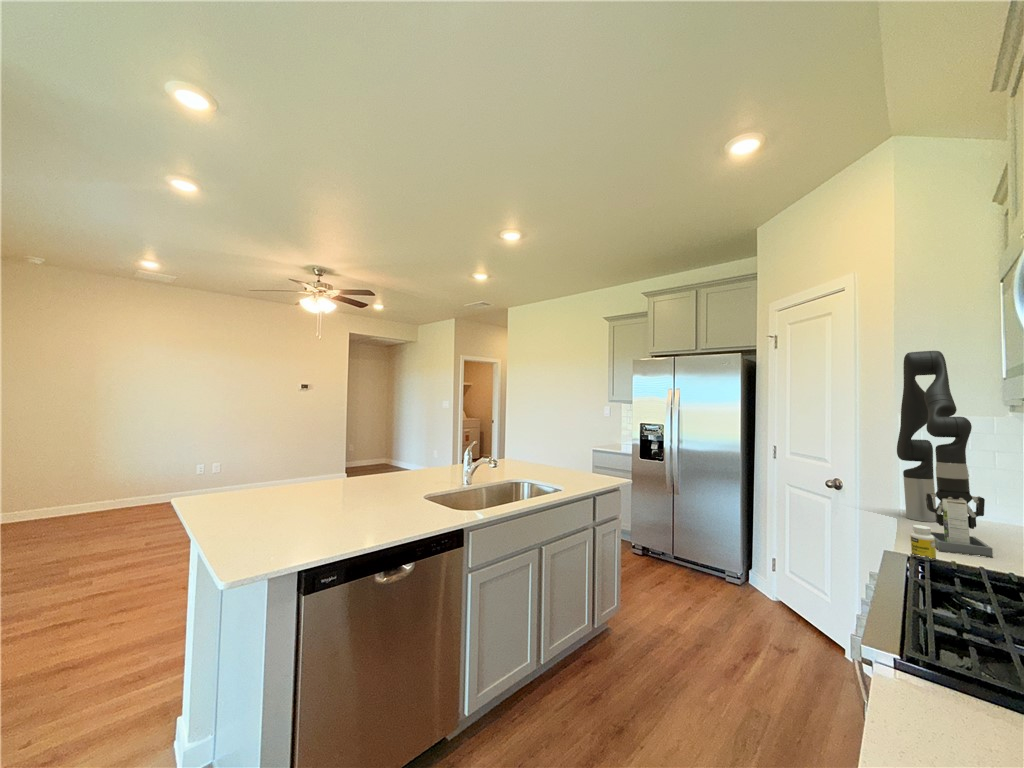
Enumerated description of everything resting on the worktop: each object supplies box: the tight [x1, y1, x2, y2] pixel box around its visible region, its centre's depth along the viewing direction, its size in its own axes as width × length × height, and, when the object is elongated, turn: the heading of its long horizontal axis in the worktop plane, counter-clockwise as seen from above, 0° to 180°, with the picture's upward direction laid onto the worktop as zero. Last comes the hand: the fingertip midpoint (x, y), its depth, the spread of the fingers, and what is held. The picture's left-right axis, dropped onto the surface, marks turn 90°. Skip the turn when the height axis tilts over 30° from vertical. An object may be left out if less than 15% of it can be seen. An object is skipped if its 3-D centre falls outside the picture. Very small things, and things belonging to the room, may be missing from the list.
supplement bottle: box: [910, 524, 937, 560], centre depth 130 cm, size 5×5×10 cm
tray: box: [930, 531, 994, 559], centre depth 139 cm, size 14×12×3 cm
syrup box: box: [942, 498, 970, 545], centre depth 139 cm, size 6×6×14 cm
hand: (955, 526), depth 139 cm, fingers open, 6 cm apart
